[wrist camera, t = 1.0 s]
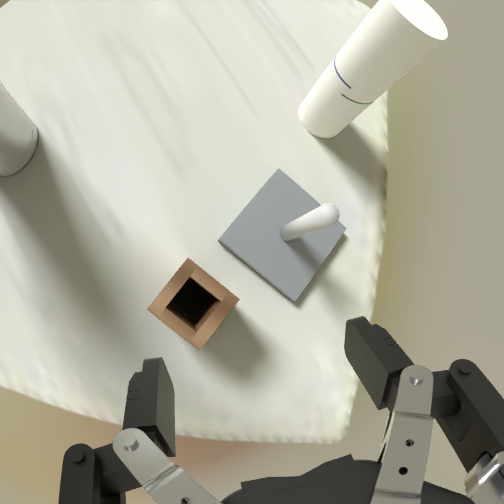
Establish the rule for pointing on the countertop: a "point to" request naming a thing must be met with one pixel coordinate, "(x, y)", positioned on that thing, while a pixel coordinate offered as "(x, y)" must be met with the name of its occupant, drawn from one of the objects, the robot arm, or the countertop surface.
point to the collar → (208, 316)
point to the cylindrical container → (371, 63)
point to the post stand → (284, 234)
